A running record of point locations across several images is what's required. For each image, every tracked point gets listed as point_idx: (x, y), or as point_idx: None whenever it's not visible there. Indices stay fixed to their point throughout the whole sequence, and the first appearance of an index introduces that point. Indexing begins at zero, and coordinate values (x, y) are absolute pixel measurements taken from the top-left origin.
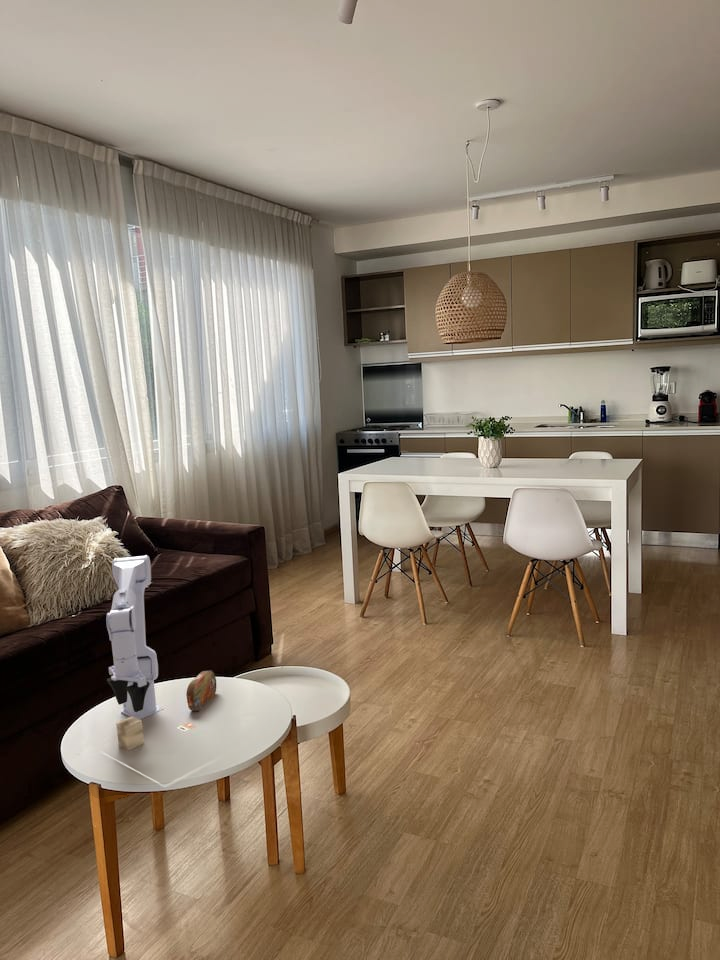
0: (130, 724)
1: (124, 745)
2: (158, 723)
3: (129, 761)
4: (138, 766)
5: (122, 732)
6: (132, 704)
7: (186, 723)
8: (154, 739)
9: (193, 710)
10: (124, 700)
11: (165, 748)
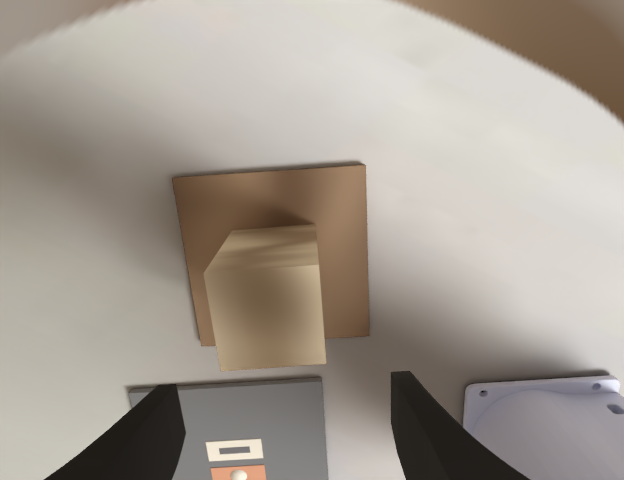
0: (224, 309)
1: (260, 232)
2: (373, 418)
3: (143, 189)
4: (67, 194)
5: (258, 254)
6: (140, 422)
7: (263, 476)
8: None
9: None
10: (394, 421)
11: (142, 338)
